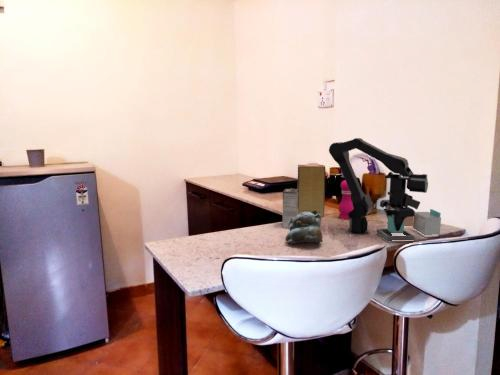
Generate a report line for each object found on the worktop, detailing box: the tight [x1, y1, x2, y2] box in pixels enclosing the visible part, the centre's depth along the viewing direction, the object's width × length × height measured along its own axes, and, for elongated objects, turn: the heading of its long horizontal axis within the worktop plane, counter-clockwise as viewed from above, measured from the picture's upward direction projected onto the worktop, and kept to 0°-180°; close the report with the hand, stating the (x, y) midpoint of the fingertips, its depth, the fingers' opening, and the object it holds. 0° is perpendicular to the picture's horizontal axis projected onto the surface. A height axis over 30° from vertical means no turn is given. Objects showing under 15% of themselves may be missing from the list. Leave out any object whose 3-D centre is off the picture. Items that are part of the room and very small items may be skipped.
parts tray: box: [376, 228, 415, 241], centre depth 144 cm, size 10×10×2 cm
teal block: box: [386, 216, 405, 233], centre depth 143 cm, size 4×4×6 cm
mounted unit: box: [413, 208, 442, 235], centre depth 149 cm, size 6×10×10 cm, turn 1°
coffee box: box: [282, 188, 299, 229], centre depth 162 cm, size 9×6×16 cm
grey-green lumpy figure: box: [285, 211, 323, 245], centre depth 139 cm, size 15×12×14 cm
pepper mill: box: [338, 179, 354, 220], centre depth 175 cm, size 7×7×20 cm
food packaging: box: [296, 164, 326, 218], centre depth 181 cm, size 13×9×25 cm
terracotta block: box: [404, 217, 414, 226], centre depth 159 cm, size 4×4×6 cm
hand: (395, 229), depth 144 cm, fingers closed on teal block, 4 cm apart
